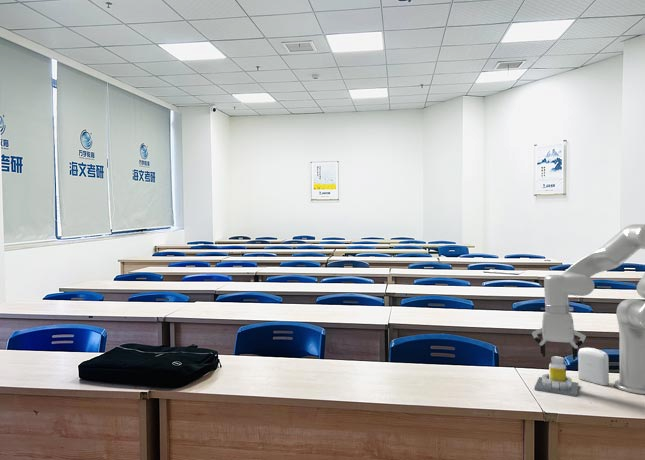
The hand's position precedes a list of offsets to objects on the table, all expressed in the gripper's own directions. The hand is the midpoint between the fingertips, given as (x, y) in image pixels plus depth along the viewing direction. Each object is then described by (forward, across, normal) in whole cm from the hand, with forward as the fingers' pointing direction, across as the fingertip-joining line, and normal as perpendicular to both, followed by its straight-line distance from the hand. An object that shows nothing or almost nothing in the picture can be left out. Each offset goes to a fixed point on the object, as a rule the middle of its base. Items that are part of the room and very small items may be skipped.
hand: (559, 357), depth 167 cm
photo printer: (+12, -10, -13) cm, 20 cm away
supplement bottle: (+10, +1, +1) cm, 10 cm away
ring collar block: (+11, +1, +1) cm, 11 cm away
